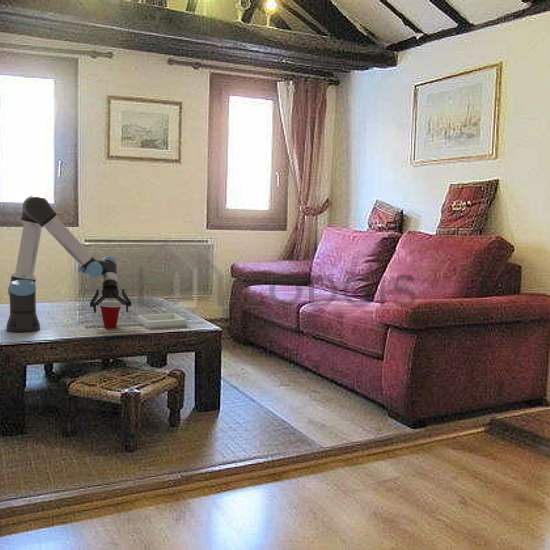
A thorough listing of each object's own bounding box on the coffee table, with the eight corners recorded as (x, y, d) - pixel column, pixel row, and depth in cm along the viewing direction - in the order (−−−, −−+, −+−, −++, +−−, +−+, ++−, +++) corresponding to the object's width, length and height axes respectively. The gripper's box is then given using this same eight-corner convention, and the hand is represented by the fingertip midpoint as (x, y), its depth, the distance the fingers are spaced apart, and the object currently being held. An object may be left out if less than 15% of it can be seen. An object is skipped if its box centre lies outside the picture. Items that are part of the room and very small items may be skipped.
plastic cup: (118, 329, 316) (118, 305, 314) (96, 329, 316) (96, 305, 315) (124, 325, 326) (124, 302, 325) (103, 324, 327) (103, 301, 325)
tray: (147, 329, 319) (147, 322, 319) (137, 321, 337) (137, 315, 337) (186, 326, 328) (186, 319, 328) (174, 319, 346) (174, 313, 346)
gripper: (134, 287, 338) (136, 320, 325) (84, 287, 331) (85, 322, 318) (135, 278, 332) (137, 312, 320) (84, 278, 325) (84, 313, 312)
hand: (111, 317), depth 319 cm, fingers open, 13 cm apart
